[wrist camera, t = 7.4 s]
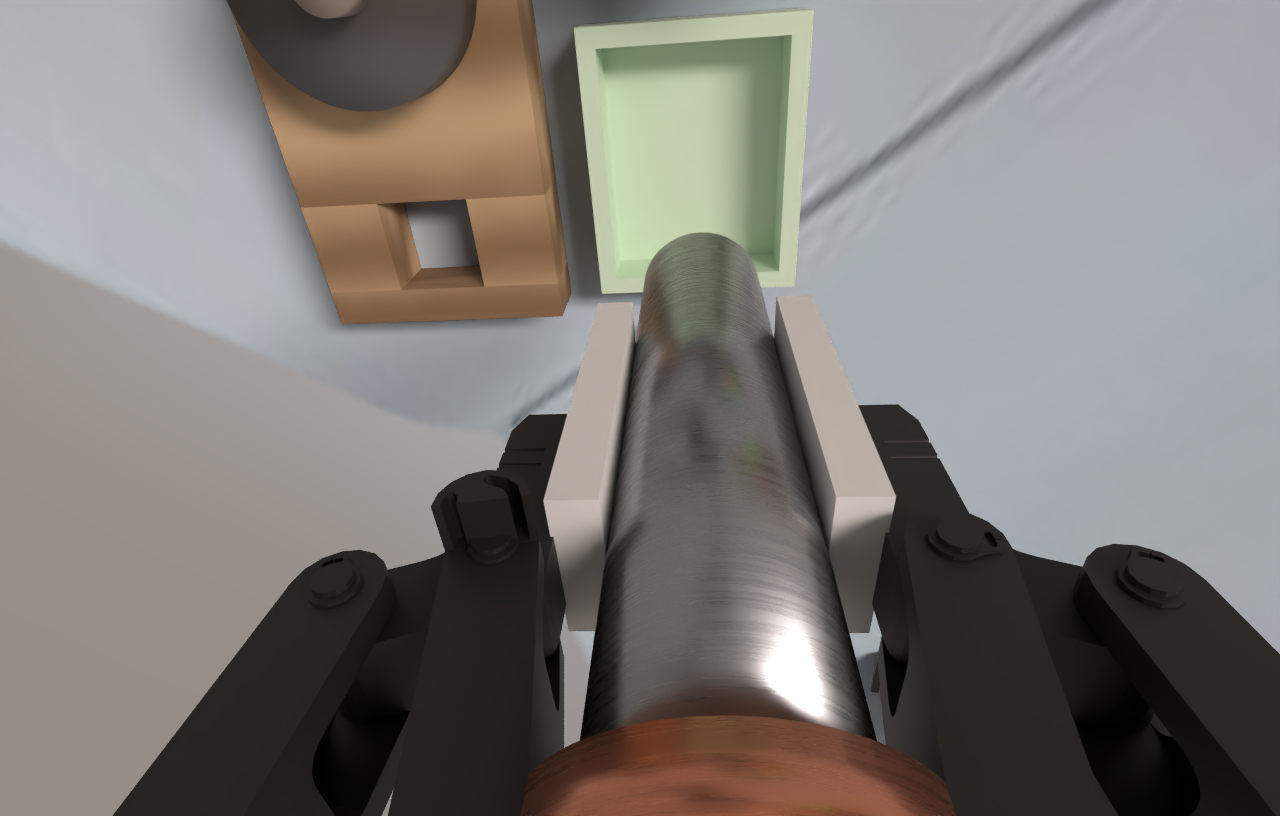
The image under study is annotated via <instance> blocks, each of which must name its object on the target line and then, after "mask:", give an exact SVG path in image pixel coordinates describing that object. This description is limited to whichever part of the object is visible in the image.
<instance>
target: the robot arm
mask: <svg viewBox="0 0 1280 816" xmlns="http://www.w3.org/2000/svg"><path fill="white" fill-rule="evenodd" d="M774 341H775V345H776V349H777V353H778V357H779V360H780V364H781V368H782V372H783V376H784V380H785V384H786V388H787V392H788V396H789V400H790V403H791V407H792V411H793V415H794V419H795V423H796V427H797V431H798V435H799V439H800V443H801V446H802V450H803V454H804V458H805V462H806V466H807V470H808V474H809V478H810V482H811V486H812V489H813V493H814V497H815V501H816V505H817V509H818V513H819V517H820V521H821V525H822V529H823V532H824V536H825V540H826V544H827V548H828V552H829V556H830V560H831V564H832V568H833V572H834V575H835V579H836V583H837V587H838V591H839V595H840V599H841V603H842V607H843V611H844V615H845V618H846V622H847V626H848V630H849V633H869V631H870V626H871V621H872V616H873V611H875V614H876V618H877V621H878V624H879V627H880V631H881V634H882V637H881V642H880V647H879V651H878V656H877V661H876V665H875V670H874V675H873V680H872V686H871V692H877V693H879V688H880V690H881V700H882V710H883V721H884V731H885V741H886V745H887V746H889V747H891V748H894V749H896V750H899V751H900V752H902V753H904V754H906V755H907V756H909V757H911V758H913V759H915V760H916V761H918V762H920V763H922V764H923V765H924V766H926V767H927V768H928V769H930V770H931V771H932V772H934V773H935V774H936V775H938V776H939V777H940V778H941V779H942V780H943V781H944V782H945V783H946V787H947V790H948V793H949V796H950V799H951V802H952V805H953V808H954V811H955V814H956V816H1280V654H1279V653H1278V652H1277V651H1276V650H1275V649H1274V648H1273V647H1272V646H1271V645H1270V644H1269V643H1268V642H1267V641H1266V640H1265V639H1264V638H1263V637H1262V636H1261V635H1260V634H1259V633H1258V632H1257V631H1256V630H1255V629H1254V628H1253V627H1252V626H1251V625H1250V624H1249V623H1248V622H1247V621H1246V620H1245V619H1244V618H1243V617H1242V616H1241V615H1240V614H1239V613H1238V612H1237V611H1236V610H1235V609H1234V608H1233V607H1232V606H1231V605H1230V604H1229V603H1228V602H1227V601H1226V600H1225V599H1224V598H1223V597H1222V596H1221V595H1220V594H1219V593H1218V592H1217V591H1216V590H1215V589H1214V588H1213V587H1212V586H1211V585H1210V584H1209V583H1208V582H1207V581H1206V580H1205V579H1204V578H1202V577H1201V576H1200V575H1199V574H1197V573H1196V572H1195V571H1193V570H1192V569H1191V568H1190V567H1188V566H1187V565H1186V564H1184V563H1182V562H1180V561H1178V560H1176V559H1174V558H1172V557H1170V556H1168V555H1166V554H1164V553H1161V552H1158V551H1154V550H1151V549H1147V548H1144V547H1140V546H1137V545H1123V544H1112V545H1108V546H1103V547H1099V548H1096V549H1095V550H1094V551H1093V552H1092V553H1091V554H1090V555H1089V556H1088V557H1087V558H1086V560H1085V563H1084V565H1083V567H1081V566H1077V565H1072V564H1067V563H1063V562H1058V561H1054V560H1049V559H1045V558H1040V557H1036V556H1032V555H1029V554H1025V553H1022V552H1019V551H1016V550H1014V549H1012V547H1011V545H1010V544H1009V542H1008V541H1007V539H1006V537H1005V536H1004V534H1003V533H1002V532H1000V531H999V530H998V529H996V528H995V527H994V526H993V525H991V524H990V523H989V522H987V521H985V520H983V519H981V518H979V517H976V516H974V515H972V514H970V513H969V512H968V510H967V509H966V507H965V505H964V503H963V501H962V499H961V498H960V496H959V494H958V492H957V490H956V488H955V487H954V485H953V483H952V481H951V479H950V477H949V475H948V474H947V472H946V470H945V468H944V466H943V464H942V463H941V461H940V459H937V453H936V452H935V450H934V448H933V446H932V444H931V443H929V439H928V437H927V435H926V433H925V431H924V429H923V428H922V426H921V424H920V422H919V420H917V419H916V418H915V417H913V416H912V415H911V414H910V413H908V412H907V411H906V410H904V409H903V408H902V407H900V406H899V405H898V404H896V405H858V404H857V402H856V399H855V397H854V394H853V392H852V390H851V387H850V385H849V382H848V380H847V378H846V375H845V373H844V370H843V368H842V366H841V363H840V361H839V358H838V356H837V354H836V351H835V349H834V346H833V344H832V342H831V339H830V337H829V334H828V332H827V330H826V327H825V325H824V322H823V320H822V318H821V315H820V313H819V310H818V308H817V306H816V303H815V301H814V298H813V296H812V295H805V296H779V297H776V315H775V334H774ZM635 344H636V343H635V331H634V318H633V305H632V302H621V303H598V306H597V310H596V313H595V317H594V320H593V324H592V328H591V331H590V335H589V338H588V342H587V346H586V349H585V353H584V356H583V360H582V364H581V367H580V371H579V374H578V378H577V381H576V385H575V389H574V392H573V396H572V399H571V403H570V407H569V410H568V414H546V415H528V416H527V417H526V418H525V419H524V420H523V421H522V422H521V423H520V424H519V425H518V426H517V427H516V428H515V429H513V430H512V432H511V435H510V437H509V440H508V442H507V445H506V448H505V453H503V455H502V458H501V460H500V463H499V468H497V470H495V471H494V470H485V471H481V472H476V473H472V474H468V475H465V476H464V477H461V478H459V479H457V480H455V481H453V482H451V483H450V484H449V485H448V486H446V487H445V488H444V489H443V490H442V491H440V492H439V493H438V494H437V496H436V498H435V500H434V502H433V504H432V506H431V509H432V512H433V515H434V518H435V521H436V524H437V527H438V530H439V534H440V537H441V540H442V543H443V546H444V549H445V553H443V554H441V555H439V556H437V557H434V558H431V559H428V560H425V561H421V562H417V563H413V564H409V565H405V566H401V567H397V568H393V569H389V570H387V567H386V565H385V563H384V561H383V560H382V559H380V558H379V557H378V556H377V555H376V554H375V553H371V552H366V551H363V550H354V551H343V552H340V553H337V554H333V555H331V556H328V557H325V558H322V559H321V560H319V561H317V562H316V563H314V564H312V565H311V566H309V567H307V568H306V569H305V570H303V571H302V572H301V573H300V574H299V575H298V576H297V577H296V578H295V579H294V580H293V581H292V582H291V584H290V585H289V586H288V587H287V589H286V590H285V591H284V593H283V594H282V595H281V597H280V598H279V599H278V600H277V602H276V603H275V604H274V606H273V607H272V608H271V610H270V611H269V612H268V614H267V615H266V616H265V617H264V619H263V620H262V621H261V623H260V624H259V625H258V626H257V628H256V629H255V631H254V632H253V633H252V634H251V636H250V637H249V638H248V640H247V641H246V642H245V644H244V645H243V646H242V647H241V649H240V650H239V651H238V653H237V654H236V655H235V657H234V658H233V659H232V661H231V662H230V663H229V664H228V666H227V667H226V668H225V670H224V671H223V672H222V674H221V675H220V676H219V677H218V679H217V680H216V681H215V683H214V684H213V685H212V687H211V688H210V689H209V690H208V692H207V693H206V694H205V696H204V697H203V698H202V700H201V701H200V702H199V704H198V705H197V706H196V708H195V709H194V710H193V711H192V713H191V714H190V715H189V717H188V718H187V719H186V720H185V722H184V723H183V724H182V726H181V727H180V728H179V730H178V731H177V732H176V734H175V735H174V736H173V737H172V739H171V740H170V741H169V743H168V744H167V745H166V747H165V748H164V749H163V751H162V752H161V753H160V754H159V756H158V757H157V759H156V760H155V761H154V762H153V764H152V765H151V766H150V768H149V769H148V770H147V771H146V773H145V774H144V775H143V777H142V778H141V779H140V781H139V782H138V783H137V785H136V786H135V787H134V789H133V790H132V791H131V792H130V794H129V795H128V796H127V798H126V799H125V800H124V801H123V803H122V804H121V806H120V807H119V808H118V809H117V811H116V812H115V813H114V815H113V816H382V813H383V811H384V809H385V807H386V804H387V802H388V800H389V798H390V795H391V793H392V791H393V795H392V799H391V804H390V808H389V813H388V816H520V815H521V810H522V805H523V800H524V795H525V790H526V785H527V780H528V775H529V772H530V771H531V770H532V769H533V768H534V767H535V766H537V765H538V764H539V763H541V762H542V761H544V760H545V759H546V758H548V757H549V756H550V755H552V754H554V753H556V752H558V751H560V750H562V749H564V655H563V650H562V646H561V641H560V634H561V629H562V624H563V619H564V614H566V619H567V624H568V629H569V631H595V629H596V622H597V615H598V608H599V601H600V594H601V587H602V579H603V572H604V565H605V558H606V551H607V544H608V537H609V530H610V523H611V515H612V508H613V501H614V494H615V487H616V480H617V473H618V466H619V458H620V451H621V444H622V437H623V430H624V423H625V416H626V409H627V401H628V394H629V387H630V380H631V373H632V366H633V359H634V351H635ZM393 789H394V790H393Z"/></svg>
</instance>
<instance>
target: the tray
mask: <svg viewBox="0 0 1280 816" xmlns="http://www.w3.org/2000/svg"><path fill="white" fill-rule="evenodd" d="M813 16H814V10H812V9H806V8H793V9H779V10H766V11H753V12H740V13H727V14H713V15H700V16H687V17H674V18H661V19H647V20H634V21H621V22H608V23H594V24H583V25H580V26H578V27H575V28H574V36H575V45H576V55H577V64H578V74H579V83H580V92H581V102H582V111H583V121H584V130H585V140H586V149H587V158H588V168H589V177H590V187H591V196H592V206H593V215H594V224H595V234H596V243H597V253H598V262H599V271H600V281H601V290H602V294H609V293H634V292H643V287H644V280H645V275H646V271H647V269H648V266H649V264H650V262H651V261H652V259H653V257H654V256H655V255H656V254H657V252H658V251H659V250H660V249H661V248H662V247H663V246H665V245H666V244H668V243H669V242H670V241H672V240H674V239H676V238H678V237H681V236H683V235H687V234H691V233H698V232H708V233H715V234H719V235H722V236H725V237H727V238H729V239H731V240H733V241H734V242H736V243H737V244H739V245H740V246H741V247H742V248H743V249H744V250H745V251H746V252H747V253H748V255H749V256H750V258H751V259H752V261H753V263H754V265H755V268H756V271H757V274H758V278H759V282H760V286H761V288H762V287H788V286H795V275H796V261H797V247H798V232H799V218H800V203H801V189H802V175H803V160H804V146H805V131H806V117H807V103H808V88H809V74H810V59H811V45H812V31H813Z"/></svg>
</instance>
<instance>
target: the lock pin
mask: <svg viewBox="0 0 1280 816" xmlns="http://www.w3.org/2000/svg"><path fill="white" fill-rule="evenodd" d="M520 816H956V814H955V811H954V808H953V805H952V802H951V799H950V796H949V793H948V790H947V787H946V783H945V782H944V781H943V780H942V779H941V778H940V777H939V776H938V775H936V774H935V773H934V772H932V771H931V770H930V769H928V768H927V767H926V766H924V765H923V764H922V763H920V762H918V761H916V760H915V759H913V758H911V757H909V756H907V755H906V754H904V753H902V752H900V751H899V750H896V749H894V748H891V747H889V746H887V745H884V744H882V743H879V742H877V740H876V736H875V732H874V728H873V724H872V720H871V716H870V712H869V708H868V704H867V701H866V697H865V693H864V689H863V685H862V681H861V677H860V673H859V669H858V665H857V661H856V658H855V654H854V650H853V646H852V642H851V638H850V634H849V630H848V626H847V622H846V618H845V615H844V611H843V607H842V603H841V599H840V595H839V591H838V587H837V583H836V579H835V575H834V572H833V568H832V564H831V560H830V556H829V552H828V548H827V544H826V540H825V536H824V532H823V529H822V525H821V521H820V517H819V513H818V509H817V505H816V501H815V497H814V493H813V489H812V486H811V482H810V478H809V474H808V470H807V466H806V462H805V458H804V454H803V450H802V446H801V443H800V439H799V435H798V431H797V427H796V423H795V419H794V415H793V411H792V407H791V403H790V400H789V396H788V392H787V388H786V384H785V380H784V376H783V372H782V368H781V364H780V360H779V357H778V353H777V349H776V345H775V341H774V337H773V333H772V329H771V325H770V321H769V317H768V314H767V310H766V306H765V302H764V298H763V294H762V290H761V286H760V282H759V278H758V274H757V271H756V268H755V265H754V263H753V261H752V259H751V258H750V256H749V255H748V253H747V252H746V251H745V250H744V249H743V248H742V247H741V246H740V245H739V244H737V243H736V242H734V241H733V240H731V239H729V238H727V237H725V236H722V235H719V234H715V233H708V232H698V233H691V234H687V235H683V236H681V237H678V238H676V239H674V240H672V241H670V242H669V243H668V244H666V245H665V246H663V247H662V248H661V249H660V250H659V251H658V252H657V254H656V255H655V256H654V257H653V259H652V261H651V262H650V264H649V266H648V269H647V271H646V275H645V280H644V287H643V294H642V301H641V309H640V316H639V323H638V330H637V337H636V344H635V351H634V359H633V366H632V373H631V380H630V387H629V394H628V401H627V409H626V416H625V423H624V430H623V437H622V444H621V451H620V458H619V466H618V473H617V480H616V487H615V494H614V501H613V508H612V515H611V523H610V530H609V537H608V544H607V551H606V558H605V565H604V572H603V579H602V587H601V594H600V601H599V608H598V615H597V622H596V629H595V637H594V644H593V651H592V658H591V665H590V672H589V679H588V687H587V694H586V701H585V708H584V715H583V723H582V729H581V736H580V741H578V742H576V743H573V744H571V745H569V746H567V747H565V748H564V749H562V750H560V751H558V752H556V753H554V754H552V755H550V756H549V757H548V758H546V759H545V760H544V761H542V762H541V763H539V764H538V765H537V766H535V767H534V768H533V769H532V770H531V771H530V772H529V775H528V780H527V785H526V790H525V795H524V800H523V805H522V810H521V815H520Z"/></svg>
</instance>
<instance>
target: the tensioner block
mask: <svg viewBox="0 0 1280 816" xmlns="http://www.w3.org/2000/svg"><path fill="white" fill-rule="evenodd" d="M227 2H228V4H229V7H230V9H231V11H232V14H233V17H234V20H235V22H236V25H237V28H238V31H239V34H240V37H241V39H242V42H243V45H244V48H245V51H246V54H247V56H248V59H249V62H250V65H251V68H252V71H253V73H254V76H255V79H256V82H257V85H258V88H259V90H260V93H261V96H262V99H263V102H264V105H265V107H266V110H267V113H268V116H269V119H270V122H271V124H272V127H273V130H274V133H275V136H276V139H277V141H278V144H279V147H280V150H281V153H282V156H283V158H284V161H285V164H286V167H287V170H288V172H289V175H290V178H291V181H292V184H293V187H294V189H295V192H296V195H297V198H298V201H299V204H300V206H301V209H302V212H303V215H304V218H305V221H306V223H307V226H308V229H309V232H310V235H311V238H312V240H313V243H314V246H315V249H316V252H317V255H318V257H319V260H320V263H321V266H322V269H323V272H324V274H325V277H326V280H327V283H328V286H329V289H330V291H331V294H332V297H333V300H334V303H335V306H336V308H337V311H338V314H339V317H340V320H341V323H342V324H360V323H388V322H415V321H443V320H470V319H498V318H525V317H553V316H563V313H564V311H565V308H566V305H567V303H568V300H569V297H570V295H571V289H570V282H569V274H568V267H567V259H566V252H565V244H564V237H563V229H562V222H561V215H560V207H559V200H558V192H557V185H556V177H555V170H554V162H553V155H552V148H551V140H550V133H549V125H548V118H547V110H546V103H545V95H544V88H543V80H542V73H541V66H540V58H539V51H538V43H537V36H536V28H535V21H534V13H533V6H532V0H227ZM460 199H466V202H467V207H468V212H469V216H470V221H471V226H472V230H473V235H474V240H475V245H476V249H477V254H478V259H479V263H480V266H470V267H448V268H425V269H421V266H420V262H419V258H418V254H417V251H416V247H415V243H414V239H413V236H412V232H411V228H410V224H409V220H408V217H407V213H406V209H405V205H404V202H422V201H441V200H460Z"/></svg>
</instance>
